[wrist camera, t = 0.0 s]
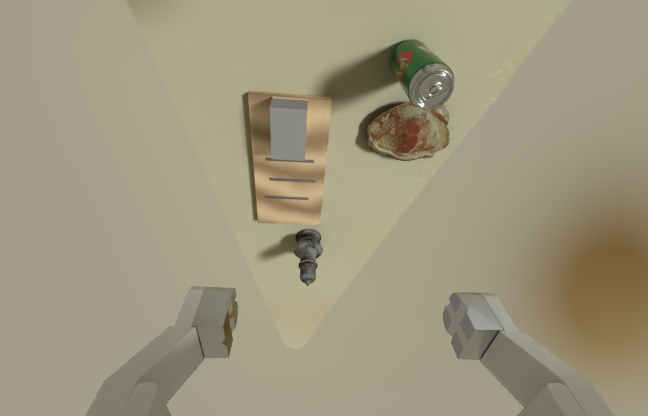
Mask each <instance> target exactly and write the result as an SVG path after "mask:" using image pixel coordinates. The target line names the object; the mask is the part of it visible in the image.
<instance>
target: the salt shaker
mask: <svg viewBox="0 0 648 416" xmlns="http://www.w3.org/2000/svg"><path fill="white" fill-rule="evenodd" d="M320 240H321V235H320V234H319V232H317V231H316V230H313V229H304V230H301V231H300V232H298V233H297V235H296V241H297V243H296V245H295V247H294V253H295V255H296V256H297V257H298V258H300V263H299V268H300V269H301V270H300V279H301V281H302V282H303V283H306V285H307V286H309V285H310V283H312V282H314V281H315V278H316V268H317V263H316V258H318V257H319V256H321V254H322V252H323V248H322V246H321V244H320Z"/></svg>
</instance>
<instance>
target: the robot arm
mask: <svg viewBox="0 0 648 416" xmlns="http://www.w3.org/2000/svg"><path fill="white" fill-rule="evenodd" d="M235 298H236V290H235V288H221V287H195V286H192V287H191V289H190V290H189V291H188V294H187V296H186V299H185V301H184V304H183V306H182V308H181V311H180V313H179V316H178V318H177V320H176V323H175V325H174V326H170V327H168V328H167V329H166V330H165V331H164V332H163V333H161V334H160V335H159V336H158V337H157V338H155V339H154V340H153V341H152V342H151V343H149V344H148V345H147V346H146V347H144V348H143V349H142V350H141V351H140V352H138V353H137V354H136V355H135V356H134V357H132V358H131V359H130V360H129V361H128V362H127V363H125V364H124V365H123V366H122V367H120V368H119V369H118V370H117V371H116V372H114V374H112V375H111V376H110V377H108V378H107V379H106V380H105V381H104V382H103V384H102V386H101V388H100V390H99V391H98V393H97V395H96V397H95V399H94V401H93V403H92V405H91V406H90V408H89V410H88V412H87V414H86V416H171V414H170V412H169V410H168V408H167V405H166V404H167V403H168V401H169V400H170V399H171V398H172V397H173V396H174V394H175V393H176V392H177V391H178V390H179V389H180V387H181V386H182V385H183V384H184V383H185V381H186V380H187V379H188V378H189V377H190V375H191V374H192V373H193V372H194V371H195V370H196V369H197V367H198V366H199V365H200V364H201V363H202V361H203V360H204V358H229V355H230V350H231V345H232V341H233V338H232V331H233V330H234V329H235V328H236V323H237V316H238V305H237V302H236V301H235ZM449 300H450V302H451V303H450V304H449V305H447V306H446V307H445V309H444V312H443V321H444V326H445V328H446V331H447V332H448V333H449V334H450V335H451V336H452V337H453V338H452V341H451V343H452V346H453V348H454V351H455V353H456V355H457V358H458V359H472V360H480V362H482V364H483V365H484V366H485V367H486V368H487V369H488V370H489V371H490V372H491V373H492V374H493V375H494V376H495V377H496V378H497V379H498V380H499V381H500V383H501V384H502V385H503V386H504V387H505V388H506V389H507V390H508V391H509V392H510V393H511V394H512V395H513V396H514V397H515V398H516V399H517V400H518V401H519V403H520V404H521V405H522V406H523V407H524V409H523V410H522V411H521V412H520V413H519V414H518V415H517V416H615V415H614V414H613V413H612V411H611V410H610V409H609V407H608V406H607V404H606V403H605V402H604V400H603V399H602V398H601V396H600V395H599V393H598V392H597V391H596V390H595V388H594V386H593V385H592V384H591V382H590V381H588V380H587V379H586V378H584V377H583V376H581V375H580V374H579V373H577V372H576V371H575V370H574V369H572V368H571V367H570V366H568V365H567V364H565V363H564V362H563V361H561V360H560V359H559V358H557V357H556V356H555V355H553V354H552V353H551V352H549V351H548V350H547V349H545V348H544V347H543V346H541V345H540V344H538V343H537V342H536V341H534V340H533V339H532V338H530V337H529V336H528V335H526V334H525V333H524V332H522V331H518V330H517V329H516V327H515V325H514V324H513V322H512V321H511V319H510V317H509V316H508V314H507V313H506V311H505V309H504V308H503V307H502V305H501V303H500V301H499V300H498V298H497V297H496V295H494V294H493V293H453V294H451V296H450V298H449Z"/></svg>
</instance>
